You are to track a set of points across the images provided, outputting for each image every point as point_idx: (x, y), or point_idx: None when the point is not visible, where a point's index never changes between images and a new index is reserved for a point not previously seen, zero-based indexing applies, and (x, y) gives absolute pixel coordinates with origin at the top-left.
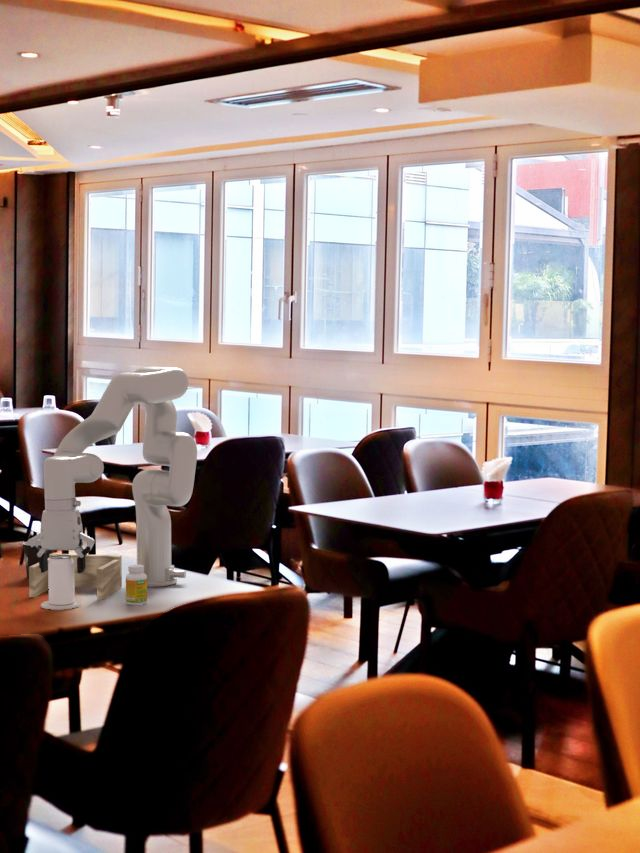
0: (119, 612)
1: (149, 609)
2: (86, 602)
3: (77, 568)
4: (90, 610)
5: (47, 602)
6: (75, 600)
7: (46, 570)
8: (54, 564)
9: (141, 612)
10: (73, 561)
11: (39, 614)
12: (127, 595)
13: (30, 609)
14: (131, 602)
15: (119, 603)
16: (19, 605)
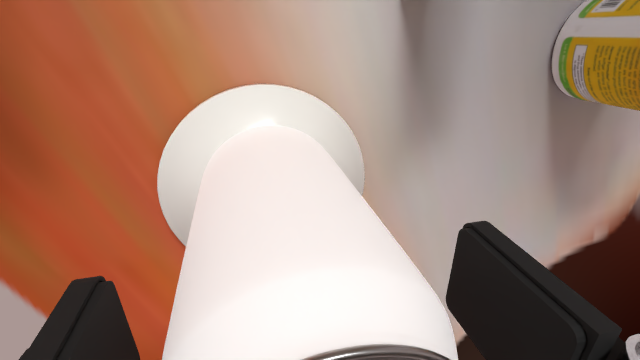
0: (528, 223)
1: (626, 152)
2: (363, 79)
3: (469, 333)
4: (423, 226)
5: (184, 189)
6: (314, 107)
7: (122, 313)
8: None
9: (597, 202)
10: (454, 342)
11: None
12: (594, 94)
13: (160, 284)
14: (581, 99)
15: (520, 68)
16: (36, 232)
